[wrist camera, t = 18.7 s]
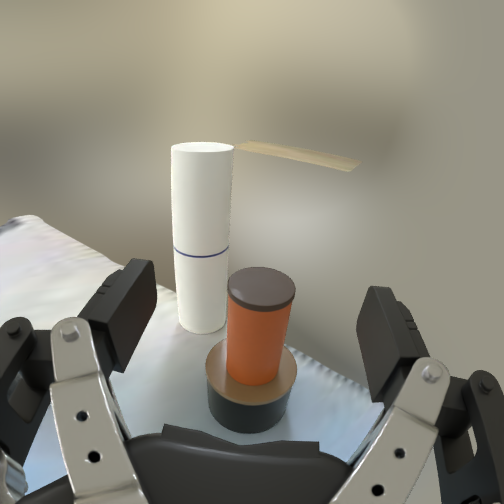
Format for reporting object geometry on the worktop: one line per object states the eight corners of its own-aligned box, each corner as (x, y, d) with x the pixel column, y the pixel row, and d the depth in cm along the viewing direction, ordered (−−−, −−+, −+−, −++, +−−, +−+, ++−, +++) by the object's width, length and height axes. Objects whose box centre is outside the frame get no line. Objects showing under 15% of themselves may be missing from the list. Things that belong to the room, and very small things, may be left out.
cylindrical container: (173, 329, 42) (161, 150, 30) (186, 300, 48) (182, 141, 36) (221, 337, 41) (227, 153, 29) (229, 306, 48) (238, 144, 36)
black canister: (191, 405, 31) (186, 368, 28) (238, 361, 38) (241, 322, 34) (257, 448, 27) (264, 419, 23) (300, 394, 33) (312, 357, 30)
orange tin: (214, 368, 28) (213, 286, 23) (246, 339, 32) (253, 259, 27) (259, 396, 26) (272, 316, 21) (289, 361, 29) (307, 282, 25)
